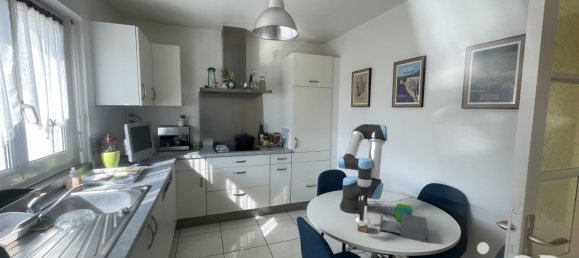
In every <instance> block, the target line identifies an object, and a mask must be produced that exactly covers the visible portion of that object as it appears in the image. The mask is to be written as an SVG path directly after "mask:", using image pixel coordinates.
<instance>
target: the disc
mask: <svg viewBox="0 0 579 258" xmlns="http://www.w3.org/2000/svg"><path fill="white" fill-rule="evenodd" d="M355 222H356V224H357V225H358V224H359V216H357V217H356V218H355ZM370 224H371V220H370V218H369V217H368V216H364V225H368V226H369V225H370Z"/></svg>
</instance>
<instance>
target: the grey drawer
mask: <svg viewBox="0 0 579 258" xmlns="http://www.w3.org/2000/svg"><path fill="white" fill-rule="evenodd" d="M379 231H380V232H383V231H386V232H393V233H396V234H397V233H398V234H400V235H401V222H399V221H392V220H386V219H384V215H380V221H379Z"/></svg>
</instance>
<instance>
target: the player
mask: <svg viewBox="0 0 579 258" xmlns="http://www.w3.org/2000/svg"><path fill="white" fill-rule="evenodd" d="M400 223H401V234H400V238H404V239H407V240H413V241H417V242H421V243H426V244H427V243H428V237H429V227H428V222H427V219H426V217H425V216H418V215H413V214H412V215H407V214H402V213H401V221H400Z"/></svg>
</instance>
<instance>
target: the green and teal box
mask: <svg viewBox="0 0 579 258" xmlns="http://www.w3.org/2000/svg"><path fill="white" fill-rule="evenodd" d="M394 210H395V217H396V222H401V213H402V214H407V215H413V208H412V205H411V204H403V203H396V207H395V208H394Z"/></svg>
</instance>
